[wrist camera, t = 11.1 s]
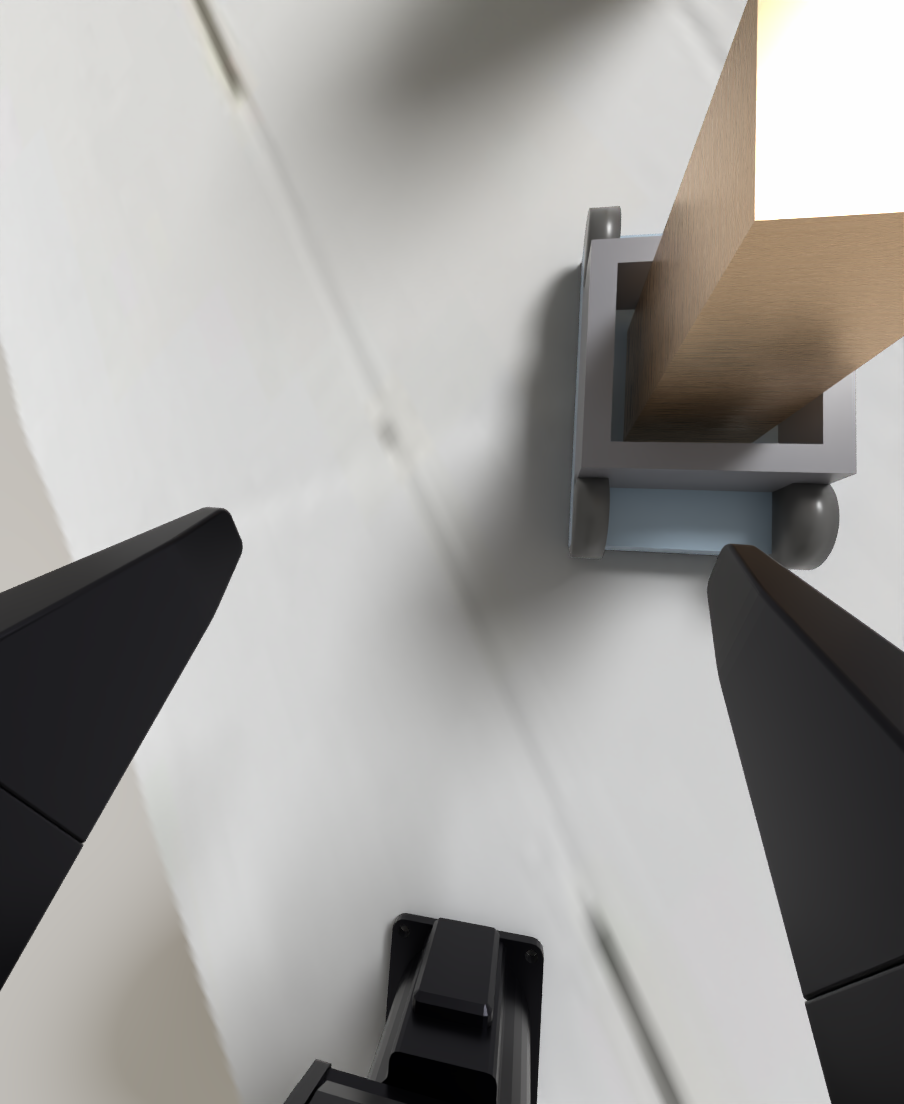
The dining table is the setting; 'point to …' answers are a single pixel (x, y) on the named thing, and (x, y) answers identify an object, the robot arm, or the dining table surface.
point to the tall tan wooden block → (778, 229)
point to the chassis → (690, 444)
